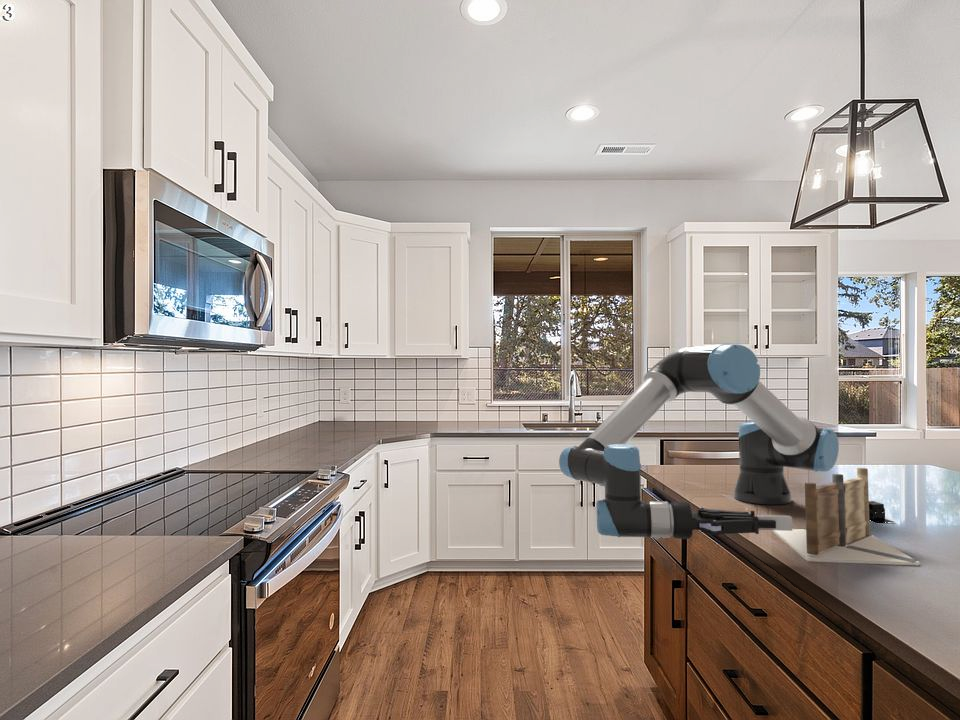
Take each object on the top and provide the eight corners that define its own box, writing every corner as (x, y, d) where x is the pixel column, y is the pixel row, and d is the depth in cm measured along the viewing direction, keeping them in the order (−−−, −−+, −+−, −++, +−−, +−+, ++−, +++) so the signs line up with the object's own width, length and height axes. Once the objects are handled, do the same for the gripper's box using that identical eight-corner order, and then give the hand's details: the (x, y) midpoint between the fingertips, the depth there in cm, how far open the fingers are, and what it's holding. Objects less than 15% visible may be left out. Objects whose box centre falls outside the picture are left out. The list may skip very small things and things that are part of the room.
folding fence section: (831, 542, 122) (829, 476, 122) (841, 544, 120) (839, 478, 120) (804, 552, 115) (802, 483, 115) (815, 555, 113) (813, 484, 114)
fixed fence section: (843, 547, 120) (840, 475, 121) (832, 544, 122) (830, 474, 122) (871, 535, 128) (869, 468, 129) (861, 533, 130) (859, 467, 130)
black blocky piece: (843, 515, 151) (843, 497, 151) (870, 514, 151) (869, 497, 151) (878, 527, 138) (877, 508, 138) (907, 526, 139) (906, 508, 139)
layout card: (771, 530, 135) (771, 528, 135) (865, 533, 132) (865, 530, 132) (807, 561, 113) (807, 558, 113) (921, 566, 110) (921, 562, 110)
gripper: (666, 529, 127) (780, 532, 123) (675, 546, 114) (803, 551, 110) (665, 495, 127) (779, 497, 123) (674, 509, 114) (802, 512, 110)
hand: (790, 523), depth 116 cm, fingers closed
